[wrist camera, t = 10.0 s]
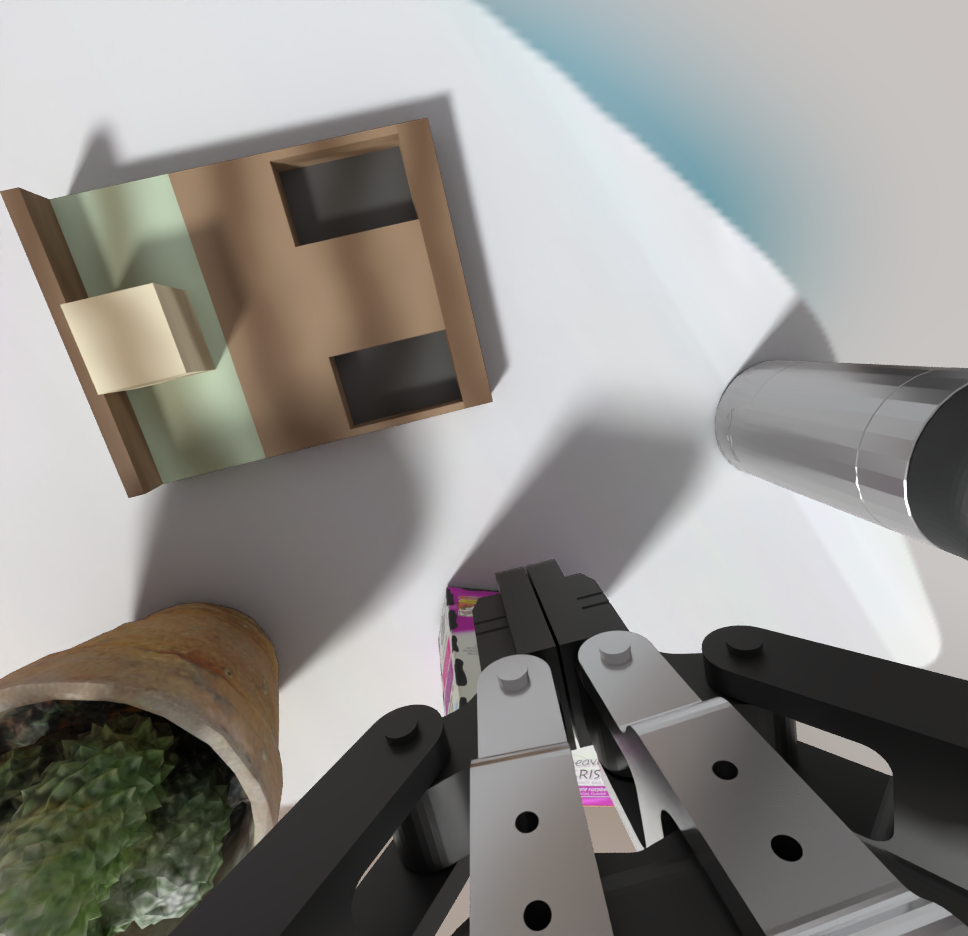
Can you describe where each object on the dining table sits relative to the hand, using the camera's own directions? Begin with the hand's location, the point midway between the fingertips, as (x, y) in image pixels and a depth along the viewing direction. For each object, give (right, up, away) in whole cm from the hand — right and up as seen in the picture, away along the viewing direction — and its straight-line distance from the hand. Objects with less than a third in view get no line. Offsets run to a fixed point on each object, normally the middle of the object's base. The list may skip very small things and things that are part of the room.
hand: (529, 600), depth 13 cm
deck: (-14, +14, +24) cm, 31 cm away
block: (-22, +11, +21) cm, 32 cm away
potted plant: (-23, -12, +29) cm, 39 cm away
